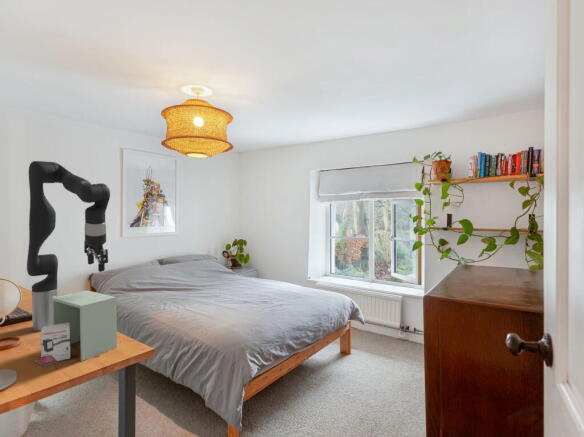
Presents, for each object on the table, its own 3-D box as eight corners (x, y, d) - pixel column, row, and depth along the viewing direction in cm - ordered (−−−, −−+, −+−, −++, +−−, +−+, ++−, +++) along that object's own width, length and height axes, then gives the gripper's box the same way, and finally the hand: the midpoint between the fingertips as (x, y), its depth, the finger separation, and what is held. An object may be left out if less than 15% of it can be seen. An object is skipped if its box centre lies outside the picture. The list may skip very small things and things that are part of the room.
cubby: (53, 348, 126) (52, 297, 125) (87, 337, 137) (86, 290, 136) (82, 361, 116) (81, 305, 115) (116, 347, 127) (116, 297, 127)
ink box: (40, 364, 112) (40, 331, 112) (42, 359, 117) (41, 326, 116) (70, 358, 117) (70, 326, 117) (70, 353, 121) (70, 322, 121)
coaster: (35, 362, 115) (35, 360, 115) (57, 354, 121) (57, 353, 121) (45, 366, 112) (45, 365, 112) (67, 358, 118) (67, 357, 118)
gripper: (114, 235, 132) (114, 271, 137) (96, 224, 139) (96, 259, 144) (95, 239, 126) (95, 276, 131) (76, 228, 133) (78, 263, 138)
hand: (96, 267), depth 137 cm, fingers open, 8 cm apart
